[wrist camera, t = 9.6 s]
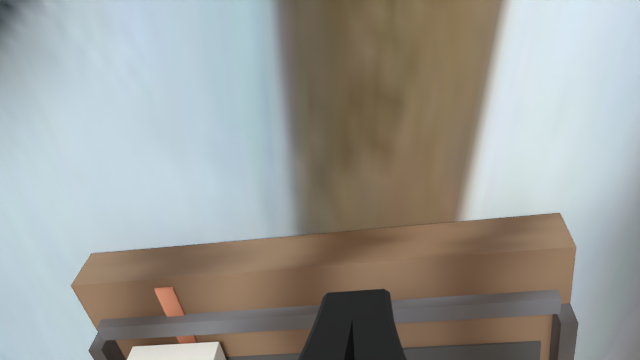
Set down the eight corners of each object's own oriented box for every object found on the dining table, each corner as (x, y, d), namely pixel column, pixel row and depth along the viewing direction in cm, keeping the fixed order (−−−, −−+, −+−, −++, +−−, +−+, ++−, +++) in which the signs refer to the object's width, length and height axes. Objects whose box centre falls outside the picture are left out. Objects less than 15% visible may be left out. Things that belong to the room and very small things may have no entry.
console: (559, 213, 21) (585, 265, 19) (544, 399, 28) (561, 457, 25) (91, 253, 24) (59, 303, 22) (175, 412, 31) (158, 464, 28)
